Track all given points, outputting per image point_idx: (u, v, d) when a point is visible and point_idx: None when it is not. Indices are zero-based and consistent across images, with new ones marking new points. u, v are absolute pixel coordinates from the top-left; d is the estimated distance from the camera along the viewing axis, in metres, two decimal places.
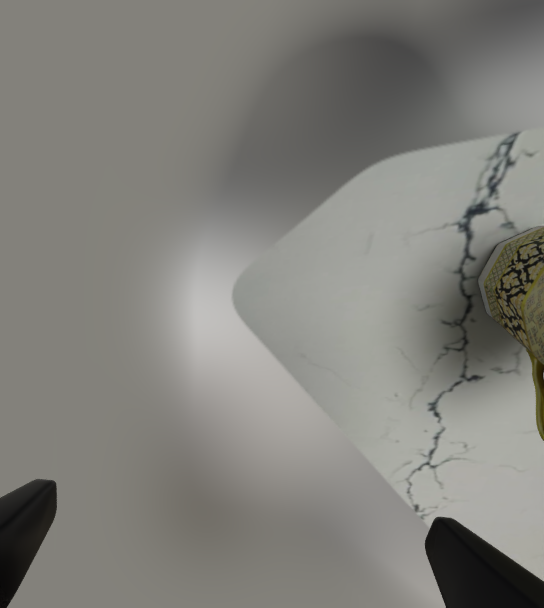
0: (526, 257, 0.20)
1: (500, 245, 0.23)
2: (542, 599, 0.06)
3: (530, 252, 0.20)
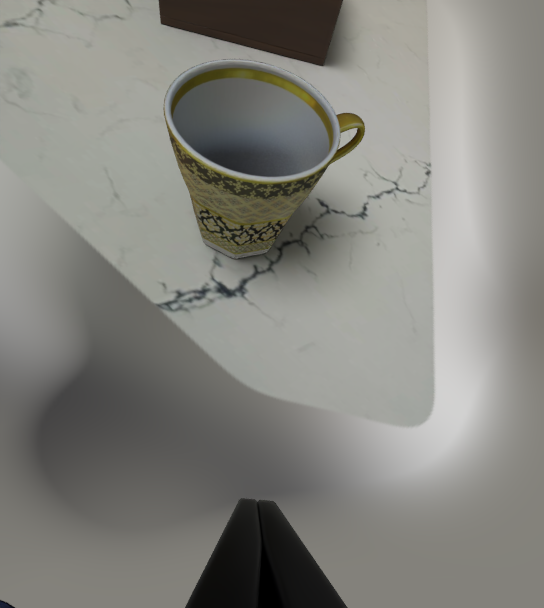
0: (248, 236, 0.23)
1: (236, 256, 0.26)
2: (294, 582, 0.06)
3: (244, 236, 0.23)
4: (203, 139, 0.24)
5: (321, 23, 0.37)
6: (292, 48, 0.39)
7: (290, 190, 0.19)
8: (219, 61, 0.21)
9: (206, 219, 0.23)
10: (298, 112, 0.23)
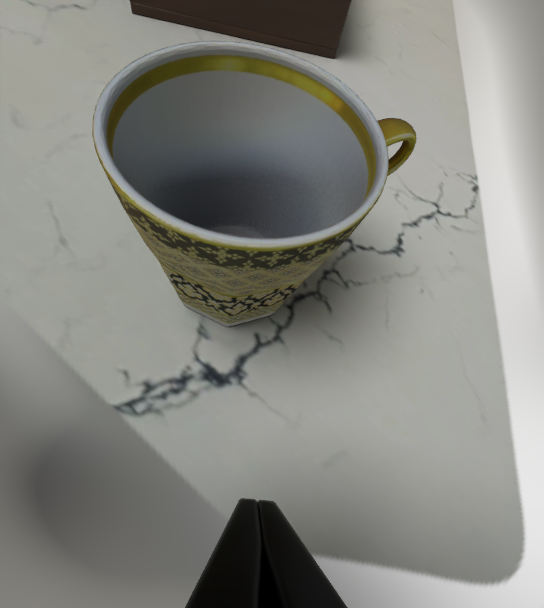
0: (245, 306, 0.16)
1: (229, 325, 0.19)
2: (294, 582, 0.06)
3: (238, 307, 0.16)
4: (175, 163, 0.16)
5: (332, 4, 0.29)
6: (296, 38, 0.31)
7: (312, 254, 0.11)
8: (191, 44, 0.13)
9: (181, 284, 0.15)
10: (314, 119, 0.15)
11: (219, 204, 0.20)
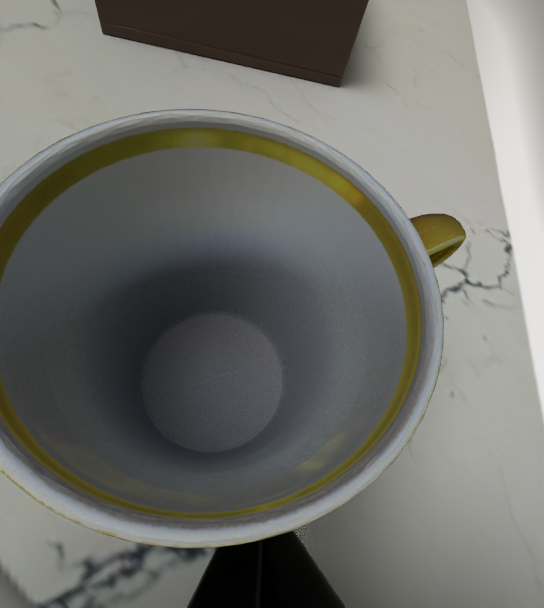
0: None
1: None
2: (293, 581, 0.06)
3: None
4: (127, 264, 0.12)
5: (338, 26, 0.25)
6: (295, 63, 0.27)
7: None
8: (134, 118, 0.09)
9: None
10: (320, 209, 0.11)
11: (195, 294, 0.15)
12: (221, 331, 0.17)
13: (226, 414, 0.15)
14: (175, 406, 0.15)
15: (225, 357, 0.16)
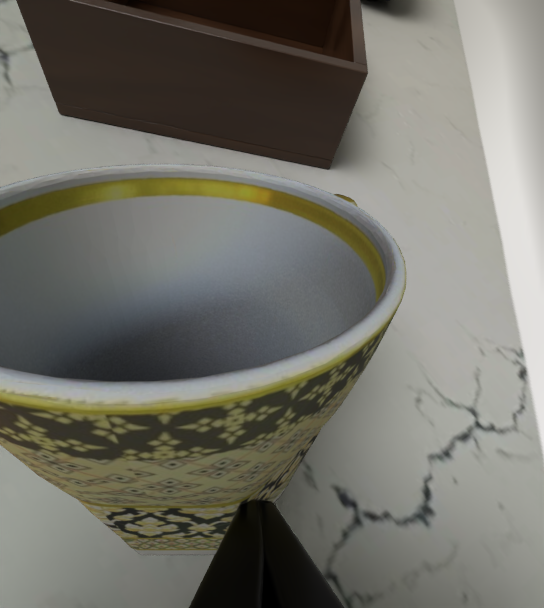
0: None
1: None
2: (291, 582, 0.06)
3: None
4: (69, 334, 0.11)
5: (326, 113, 0.22)
6: (279, 147, 0.24)
7: (370, 354, 0.06)
8: (57, 175, 0.10)
9: (132, 522, 0.08)
10: (241, 224, 0.12)
11: (147, 372, 0.14)
12: None
13: None
14: None
15: None
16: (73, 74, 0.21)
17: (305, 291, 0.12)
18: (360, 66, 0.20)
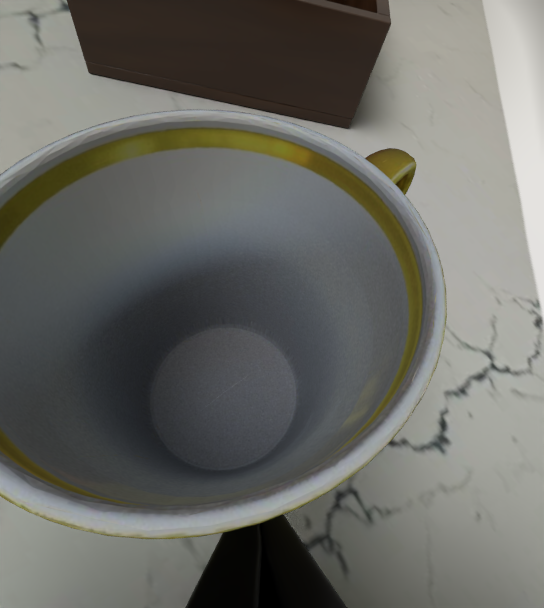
0: None
1: None
2: (294, 582, 0.06)
3: None
4: (100, 300, 0.11)
5: (349, 68, 0.22)
6: (300, 105, 0.24)
7: None
8: (63, 141, 0.08)
9: None
10: (274, 182, 0.11)
11: (178, 316, 0.15)
12: (215, 345, 0.16)
13: (248, 423, 0.14)
14: (194, 433, 0.14)
15: (229, 368, 0.16)
16: (103, 30, 0.21)
17: (338, 269, 0.11)
18: (383, 16, 0.20)
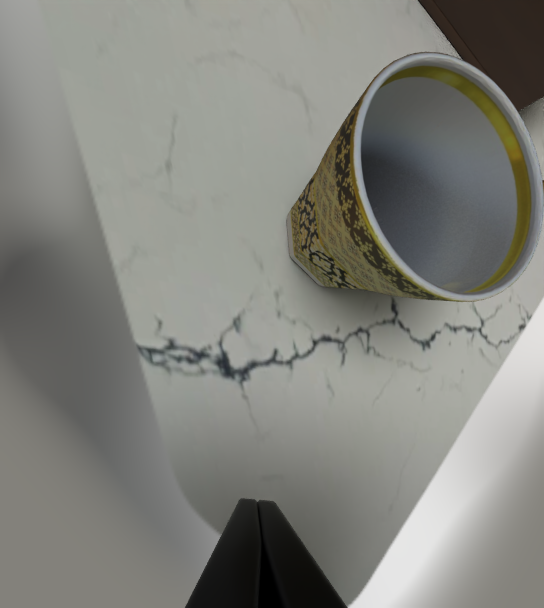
0: None
1: None
2: (295, 582, 0.06)
3: None
4: None
5: None
6: (491, 74, 0.28)
7: None
8: (433, 56, 0.14)
9: (320, 258, 0.18)
10: (484, 152, 0.17)
11: None
12: None
13: None
14: None
15: None
16: None
17: (468, 223, 0.18)
18: None
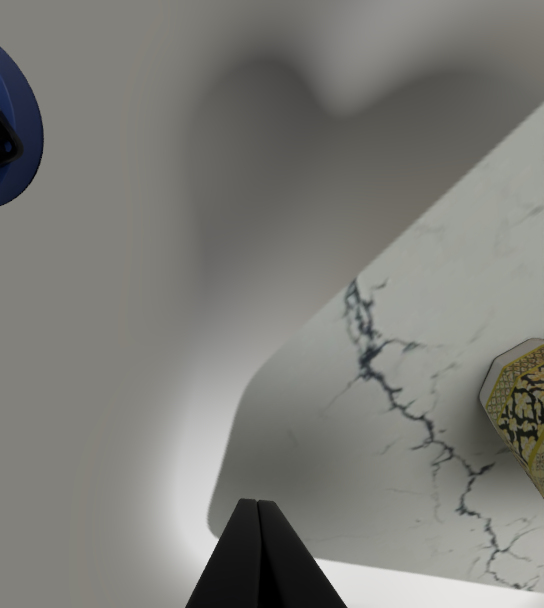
0: (512, 447, 0.19)
1: (482, 403, 0.21)
2: (294, 582, 0.06)
3: (511, 444, 0.18)
4: None
5: None
6: None
7: None
8: None
9: (531, 404, 0.17)
10: None
11: None
12: None
13: None
14: None
15: None
16: None
17: None
18: None
